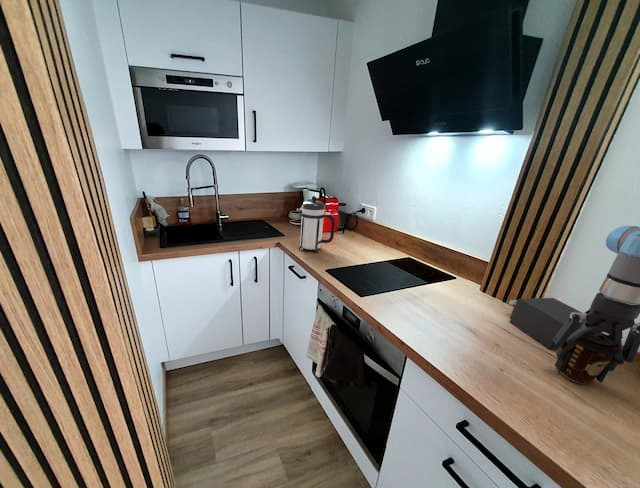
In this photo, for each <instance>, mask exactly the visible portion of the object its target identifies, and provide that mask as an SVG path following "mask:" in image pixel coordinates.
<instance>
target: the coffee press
mask: <svg viewBox="0 0 640 488" xmlns="http://www.w3.org/2000/svg"><path fill="white" fill-rule="evenodd" d="M325 210H326V206H325V203H324V202H322V201H319V200H317V196H312V197H311V199H310V200H306V201H304V202H303V203H302V204H301V207H300V208H299V211H301V224H300V225H301V227H300V240H299V241H300V242H299V243H300V244H299V247H298V251H300V252H301V251H303V250H310V251H312V250H313V251H314V253H315V254H318V253H319V249H322V247H323V246H322V244H329V243H331V242H332V241H333V239H334V236H335V228H336V220H335V218H334V216H333V215H331V214H325ZM324 218H326V219H329V220H330V221H331V227H330V236H329V238H328V239H323V230H324Z"/></svg>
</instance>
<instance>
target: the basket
mask: <svg viewBox="0 0 640 488" xmlns="http://www.w3.org/2000/svg"><path fill="white" fill-rule="evenodd" d="M519 299H520V298H517V299H511V300H509V301H508V303H509V305H510V306H514V307H513V309H512V311H511V313H510V316H509V319H510V320H511V318H512V316H513V314H514V311H515V309H516V307H517V304H518V302H519Z"/></svg>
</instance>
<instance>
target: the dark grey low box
mask: <svg viewBox="0 0 640 488" xmlns="http://www.w3.org/2000/svg"><path fill="white" fill-rule="evenodd" d="M518 299H519V302H518V304H517V307H516V309H515V311H514V314H513V316H512V318H511V319H510V321H509V323H510V324H511V325H512V326H514V327H515V328H517V329H518V330H520V331H521V332H523V333H524V334H526V335H527V336H529V337H530V338H532V339H533V340H534V341H536V342H537V343H539V344H540V345H542V346H543V347H544V348H546V349H548V350H550V351H552V350H555V351H556V350H558V349H559V347H558V346H556V344H555V343H554V341H553V338H554V337H555V335H556V334H557V333H558V331H559V330H560V329H561V327H562V326H563V325H564V323H565V322H566V321H567V319H568V316H569V312H570V311H575V312H576V313H583V312H582V311H580V310H578V309H576V308H574V307H573V306H570V305H568V304H566V303H564V302H563V301H560V300H558V299H557V298H554V297H535V298H534V297H533V298H530V297H529V298H518ZM586 321H587V320H586V318H584V319H583V320H582V322H579V324H578V326H577V327H576V328H575V330H574V331H573V332H572V333H574V332H575V331H576V330H578V329H579V328H580V327H581V326H582V324H583V323H584V322H586ZM590 328H591V327H590Z"/></svg>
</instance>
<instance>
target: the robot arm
mask: <svg viewBox="0 0 640 488" xmlns="http://www.w3.org/2000/svg"><path fill="white" fill-rule="evenodd" d="M605 246H606V248H607V249H608V250H610V251H611V252H613V253H615V254H616V257H615V259H614V260H613V262H612V265H611V267H610V268H609V270H608V272H607V275H606V276H605V277H604V279H603V282H602V283H601V285H600V287H599V289H598V290H599V292H597V293H596V294H595V296H594V298H593V300H592V302H591V304H590V307H589V309H588V310H586V311H585V312H582V313H576V312H575V311H570V312H569V316H568V319H567V321H566V322H565V323H564V325H563V326H562V327H561V329H560V330H559V331H558V333H557V334H556V335H555V337H554V338H553V341H554V343H555V344H556V346H558V347H559V349H557V351H556V353H555V355H556V358H557V360H556V361H555V363H554V366H555V369H557V371H558V372H559V373H560V372H562V371H563V370H564V368H565V366H566V364H567V362H568V360H569V359H570V357H571V355H572V353H573V352H572V351H571V350H570V349H572V348H573V347H574V346H575V345H576V342H575V341H576V340H578V339H581V338H583V337H588V336H589V335H591V334H595V333H596V332H602V333H604V334H607V335H609V338H610V339H611V340H612V341H614V342H615V343H617V345H619V349H620V351H621V352H619V353H618V354H612V359H611V360H610V362H609V363H608V364H607V365H606V367H605V368H604V369H603V370H602V371H601V373H600V374H599V375H597V376H596V377H595V379H596V381H597V382H599V383H603V381H604V380H605V378H606V376H607V375H608V373H609V372H613V371H615V369H616V368H617V367H618V365H623V364H624V363H625V362H627V363H633V362H634V361H635V359H636V356H637V353H638V351H639V348H640V322H635V320H636V319H637V318H638V317H639V315H640V226H636V225H622V226H619V227H616V228H614V229H613V230H612V231H610V232H609V233H608V235H607V236H606V238H605ZM584 318H586V320H587V321H586V322H584V323H583V324H582V326H581V327H580V328H579V329H578V330H576V331H575V332H574V333H572V332H573V331H574V330H575V328H576V327H577V326H578V324H579V322H582V320H583V319H584ZM590 327H591V328H590ZM628 329H629V331H628V334H627V336H626V338H625V342H624V344H623V343H622V340H623V332H624V331H626V330H628ZM622 344H623V346H622Z"/></svg>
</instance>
